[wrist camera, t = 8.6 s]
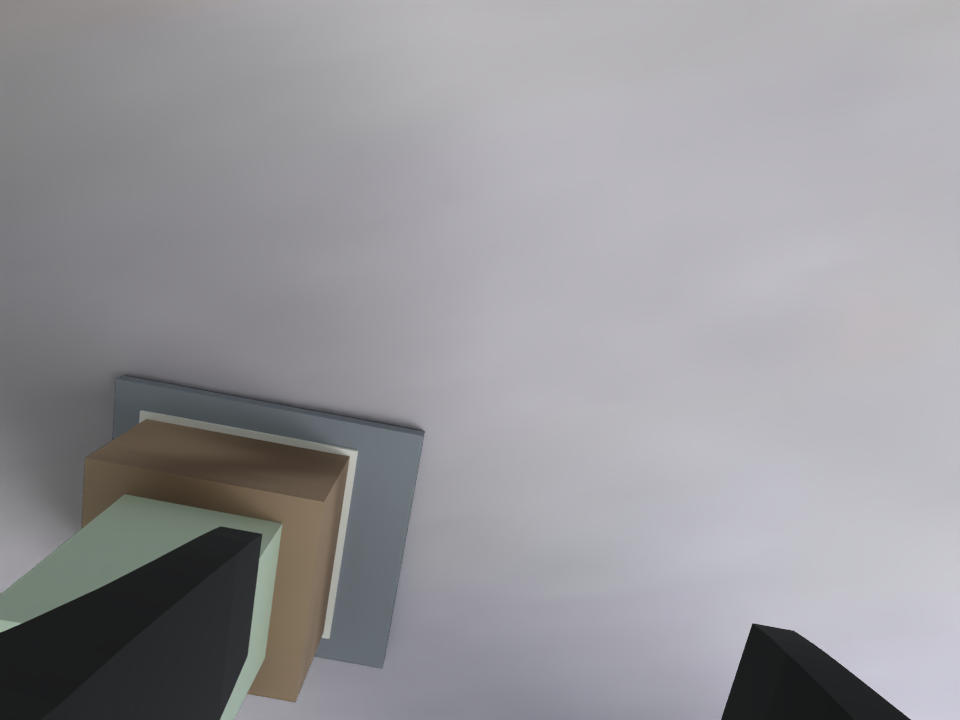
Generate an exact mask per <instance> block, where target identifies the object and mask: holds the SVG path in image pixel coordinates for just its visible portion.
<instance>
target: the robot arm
mask: <svg viewBox="0 0 960 720" xmlns="http://www.w3.org/2000/svg"><path fill="white" fill-rule="evenodd" d="M261 541H262V534H260V533H255V532H249V531H244V530H238V529H233V528H228V527H222V526H220V527H218V528H215V529H213V530H211V531H209V532H207V533H205V534H203V535H201V536H199V537H197V538H195V539H193V540H191V541H189V542H187V543H185V544H184V545H182V546H180V547H178V548H176V549H174V550H172V551H170V552H168V553H166V554H165V555H163V556H161V557H159V558H157V559H155V560H153V561H151V562H149V563H147V564H145V565H143V566H141V567H139V568H138V569H136V570H134V571H132V572H130V573H128V574H126V575H124V576H122V577H120V578H118V579H116V580H114V581H112V582H110V583H108V584H106V585H104V586H102V587H100V588H98V589H96V590H94V591H92V592H89V593H87V594H85V595H83V596H81V597H78V598H76V599H74V600H72V601H70V602H68V603H65V604H63V605H61V606H59V607H57V608H55V609H52V610H50V611H48V612H46V613H44V614H42V615H39V616H37V617H35V618H33V619H31V620H29V621H26V622H24V623H22V624H20V625H17V626H15V627H12V628H10V629H8V630H5V631H3V632H0V720H220V719H221V716H222V714H223V712H224V710H225V707H226V705H227V703H228V701H229V698H230V696H231V694H232V692H233V689H234V687H235V685H236V682H237V680H238V678H239V675H240V673H241V670H242V668H243V666H244V663H245V661H246V659H247V656H248V649H249V641H250V633H251V624H252V616H253V608H254V599H255V591H256V583H257V574H258V566H259V558H260V549H261ZM721 720H910V719H909V718H908V717H907V716H905V715H904V714H903V713H902V712H900V711H899V710H898V709H896V708H895V707H894V706H893V705H891V704H890V703H889V702H888V701H886V700H885V699H884V698H883V697H881V696H880V695H879V694H878V693H876V692H875V691H874V690H873V689H871V688H870V687H869V686H867V685H866V684H865V683H864V682H862V681H861V680H860V679H859V678H857V677H856V676H855V675H854V674H852V673H851V672H850V671H848V670H847V669H846V668H845V667H843V666H842V665H841V664H839V663H838V662H837V661H836V660H834V659H833V658H832V657H830V656H829V655H828V654H826V653H825V652H824V651H822V650H821V649H820V648H818V647H817V646H816V645H814V644H813V643H811V642H810V641H808V640H807V639H805V638H804V637H802V636H801V635H799V634H798V633H796V632H795V631H791V630H786V629H780V628H775V627H769V626H764V625H758V624H752V627H751V630H750V633H749V636H748V639H747V642H746V645H745V648H744V651H743V654H742V657H741V660H740V664H739V667H738V670H737V673H736V676H735V679H734V682H733V685H732V688H731V691H730V694H729V697H728V700H727V703H726V706H725V709H724V713H723V716H722V719H721Z"/></svg>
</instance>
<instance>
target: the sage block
mask: <svg viewBox="0 0 960 720" xmlns="http://www.w3.org/2000/svg"><path fill="white" fill-rule="evenodd" d="M220 526H222V527H228V528H233V529H238V530H244V531H249V532H255V533H260V534H262V541H261V549H260V558H259V566H258V574H257V583H256V591H255V599H254V608H253V616H252V624H251V633H250V641H249V649H248V656H247V659H246V661H245V663H244V666H243V668H242V670H241V673H240V675H239V678H238V680H237V682H236V685H235V687H234V689H233V692H232V694H231V696H230V698H229V701H228V703H227V705H226V707H225V710H224V712H223V714H222V716H221V719H220V720H234V718H235V716H236V714H237V713H238V711H239V709H240V707H241V705H242V703H243V701H244V699H245V697H246V695H247V693H248V691H249V689H250V687H251V685H252V683H253V681H254V679H255V677H256V675H257V673H258V671H259V669H260V667H261V665H262V663H263V661H264V659H265V654H266V646H267V638H268V631H269V623H270V615H271V607H272V600H273V592H274V584H275V577H276V569H277V561H278V554H279V546H280V538H281V531H282V523H277V522H272V521H266V520H261V519H256V518H250V517H245V516H239V515H234V514H229V513H223V512H218V511H212V510H207V509H202V508H196V507H191V506H186V505H180V504H175V503H169V502H164V501H159V500H153V499H148V498H142V497H137V496H132V495H126V494H124V495H123V496H122V497H121V498H119V499H118V500H117V501H116V502H115V503H113V504H112V505H111V506H110V507H108V508H107V509H106V510H105V511H103V512H102V513H101V514H100V515H98V516H97V517H96V518H95V519H93V520H92V521H91V522H90V523H88V524H87V525H86V526H85V527H83V528H82V529H81V530H80V531H78V532H77V533H76V534H75V535H73V536H72V537H71V538H70V539H68V540H67V541H66V542H65V543H63V544H62V545H61V546H60V547H58V548H57V549H56V550H55V551H53V552H52V553H51V554H50V555H48V556H47V557H46V558H45V559H44V560H42V561H41V562H40V563H39V564H37V565H36V566H35V567H34V568H32V569H31V570H30V571H29V572H27V573H26V574H25V575H24V576H22V577H21V578H20V579H19V580H17V581H16V582H15V583H14V584H12V585H11V586H10V587H9V588H7V589H6V590H5V591H4V592H2V593H1V594H0V632H3V631H5V630H8V629H10V628H12V627H15V626H17V625H20V624H22V623H24V622H26V621H29V620H31V619H33V618H35V617H37V616H39V615H42V614H44V613H46V612H48V611H50V610H52V609H55V608H57V607H59V606H61V605H63V604H65V603H68V602H70V601H72V600H74V599H76V598H78V597H81V596H83V595H85V594H87V593H89V592H92V591H94V590H96V589H98V588H100V587H102V586H104V585H106V584H108V583H110V582H112V581H114V580H116V579H118V578H120V577H122V576H124V575H126V574H128V573H130V572H132V571H134V570H136V569H138V568H139V567H141V566H143V565H145V564H147V563H149V562H151V561H153V560H155V559H157V558H159V557H161V556H163V555H165V554H166V553H168V552H170V551H172V550H174V549H176V548H178V547H180V546H182V545H184V544H185V543H187V542H189V541H191V540H193V539H195V538H197V537H199V536H201V535H203V534H205V533H207V532H209V531H211V530H213V529H215V528H218V527H220Z"/></svg>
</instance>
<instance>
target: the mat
mask: <svg viewBox="0 0 960 720" xmlns="http://www.w3.org/2000/svg"><path fill="white" fill-rule="evenodd" d="M145 419H150V420H155V421H161V422H166V423H171V424H177V425H182V426H188V427H193V428H198V429H204V430H209V431H215V432H220V433H225V434H231V435H236V436H242V437H247V438H252V439H258V440H263V441H269V442H274V443H279V444H285V445H290V446H296V447H301V448H306V449H312V450H317V451H323V452H328V453H333V454H339V455H344V456H350V459H349V466H348V473H347V479H346V486H345V493H344V499H343V506H342V513H341V519H340V526H339V533H338V539H337V546H336V553H335V559H334V566H333V573H332V579H331V586H330V593H329V599H328V606H327V612H326V619H325V626H324V632H323V635H322V637H321V640H320V642H319V645H318V647H317V650H316V652H315V655H314V656H315V657H321V658H326V659H332V660H337V661H343V662H348V663H354V664H360V665H365V666H371V667H376V668H382V667H383V663H384V658H385V653H386V647H387V641H388V636H389V630H390V625H391V619H392V613H393V608H394V602H395V596H396V591H397V585H398V579H399V574H400V568H401V563H402V557H403V551H404V546H405V540H406V534H407V529H408V523H409V517H410V512H411V506H412V500H413V495H414V489H415V484H416V478H417V472H418V467H419V461H420V455H421V450H422V444H423V438H424V433H425V431H419V430H414V429H409V428H403V427H398V426H393V425H387V424H382V423H376V422H371V421H366V420H360V419H355V418H350V417H344V416H339V415H333V414H328V413H323V412H317V411H312V410H307V409H301V408H296V407H291V406H285V405H280V404H274V403H269V402H264V401H258V400H253V399H248V398H242V397H237V396H231V395H226V394H221V393H215V392H210V391H205V390H199V389H194V388H189V387H183V386H178V385H172V384H167V383H162V382H156V381H151V380H146V379H140V378H135V377H129V376H124V375H123V376H121V377H119V378H117V379H116V387H115V404H114V421H113V439H112V440H114V439H116V438H117V437H119V436H120V435H122V434H123V433H125V432H126V431H128V430H130V429H131V428H133V427H134V426H136V425H137V424H139V423H141V422H142V421H144V420H145Z"/></svg>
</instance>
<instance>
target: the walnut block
mask: <svg viewBox="0 0 960 720" xmlns="http://www.w3.org/2000/svg"><path fill="white" fill-rule="evenodd" d="M349 459H350V456H344V455H339V454H333V453H328V452H323V451H317V450H312V449H306V448H301V447H296V446H290V445H285V444H279V443H274V442H269V441H263V440H258V439H252V438H247V437H242V436H236V435H231V434H225V433H220V432H215V431H209V430H204V429H198V428H193V427H188V426H182V425H177V424H171V423H166V422H161V421H155V420H150V419H145V420H144V421H142V422H141V423H139V424H137V425H136V426H134V427H133V428H131V429H130V430H128V431H126V432H125V433H123V434H122V435H120V436H119V437H117V438H116V439H114V440H112V441H111V442H109V443H108V444H106V445H105V446H103V447H101V448H100V449H98V450H97V451H95V452H94V453H92V454H90V455H89V456H87V457H86V458H85V468H84V489H83V509H82V528H83V527H85V526H86V525H87V524H88V523H90V522H91V521H92V520H93V519H95V518H96V517H97V516H98V515H100V514H101V513H102V512H103V511H105V510H106V509H107V508H108V507H110V506H111V505H112V504H113V503H115V502H116V501H117V500H118V499H119V498H121V497H122V496H123V495H124V494H126V495H132V496H137V497H142V498H148V499H153V500H159V501H164V502H169V503H175V504H180V505H186V506H191V507H196V508H202V509H207V510H212V511H218V512H223V513H229V514H234V515H239V516H245V517H250V518H256V519H261V520H266V521H272V522H277V523H282V531H281V538H280V546H279V554H278V561H277V569H276V577H275V584H274V592H273V600H272V607H271V615H270V623H269V631H268V638H267V646H266V654H265V659H264V661H263V663H262V665H261V667H260V669H259V671H258V673H257V675H256V677H255V679H254V681H253V683H252V685H251V687H250V689H249V691H248V693H247V694H251V695H257V696H263V697H268V698H274V699H279V700H285V701H291V702H296V700H297V697H298V695H299V692H300V690H301V687H302V685H303V682H304V680H305V677H306V675H307V672H308V670H309V667H310V665H311V662H312V660H313V657H314V655H315V652H316V650H317V647H318V645H319V642H320V640H321V637H322V635H323V632H324V626H325V619H326V612H327V606H328V599H329V593H330V586H331V579H332V573H333V566H334V559H335V553H336V546H337V539H338V533H339V526H340V519H341V513H342V506H343V499H344V493H345V486H346V479H347V473H348V466H349Z"/></svg>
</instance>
